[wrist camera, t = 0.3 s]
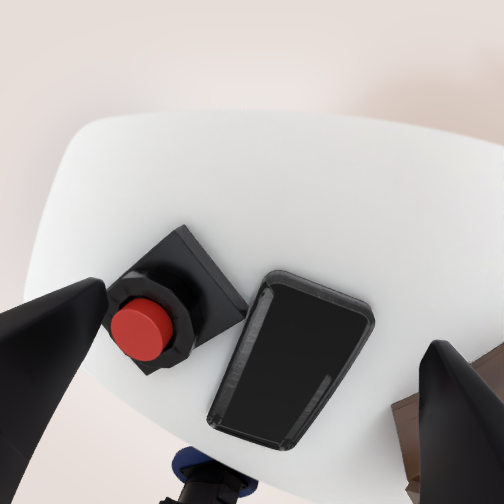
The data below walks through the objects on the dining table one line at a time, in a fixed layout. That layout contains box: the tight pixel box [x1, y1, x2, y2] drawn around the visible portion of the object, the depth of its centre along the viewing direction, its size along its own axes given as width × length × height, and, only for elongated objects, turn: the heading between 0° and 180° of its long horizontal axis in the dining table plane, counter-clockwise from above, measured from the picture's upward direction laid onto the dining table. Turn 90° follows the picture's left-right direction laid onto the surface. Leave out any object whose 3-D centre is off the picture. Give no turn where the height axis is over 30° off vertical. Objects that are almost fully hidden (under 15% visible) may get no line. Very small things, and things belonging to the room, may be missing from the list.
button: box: [111, 298, 173, 361], centre depth 19 cm, size 4×4×2 cm
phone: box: [206, 270, 375, 451], centre depth 22 cm, size 8×1×15 cm
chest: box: [391, 343, 504, 483], centre depth 18 cm, size 12×13×8 cm
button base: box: [102, 225, 249, 376], centre depth 21 cm, size 10×7×4 cm
